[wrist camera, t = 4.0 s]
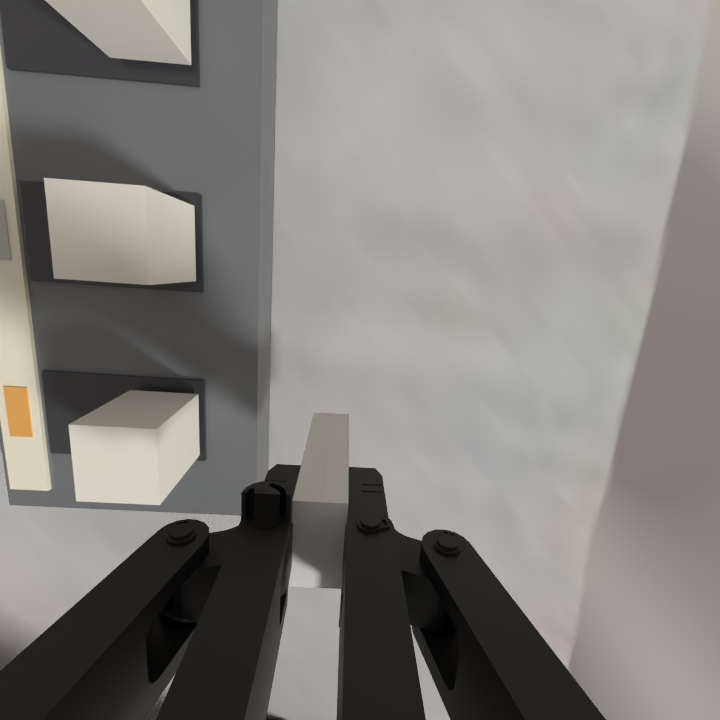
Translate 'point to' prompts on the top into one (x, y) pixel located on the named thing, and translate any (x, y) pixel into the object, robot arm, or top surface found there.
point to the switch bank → (135, 301)
